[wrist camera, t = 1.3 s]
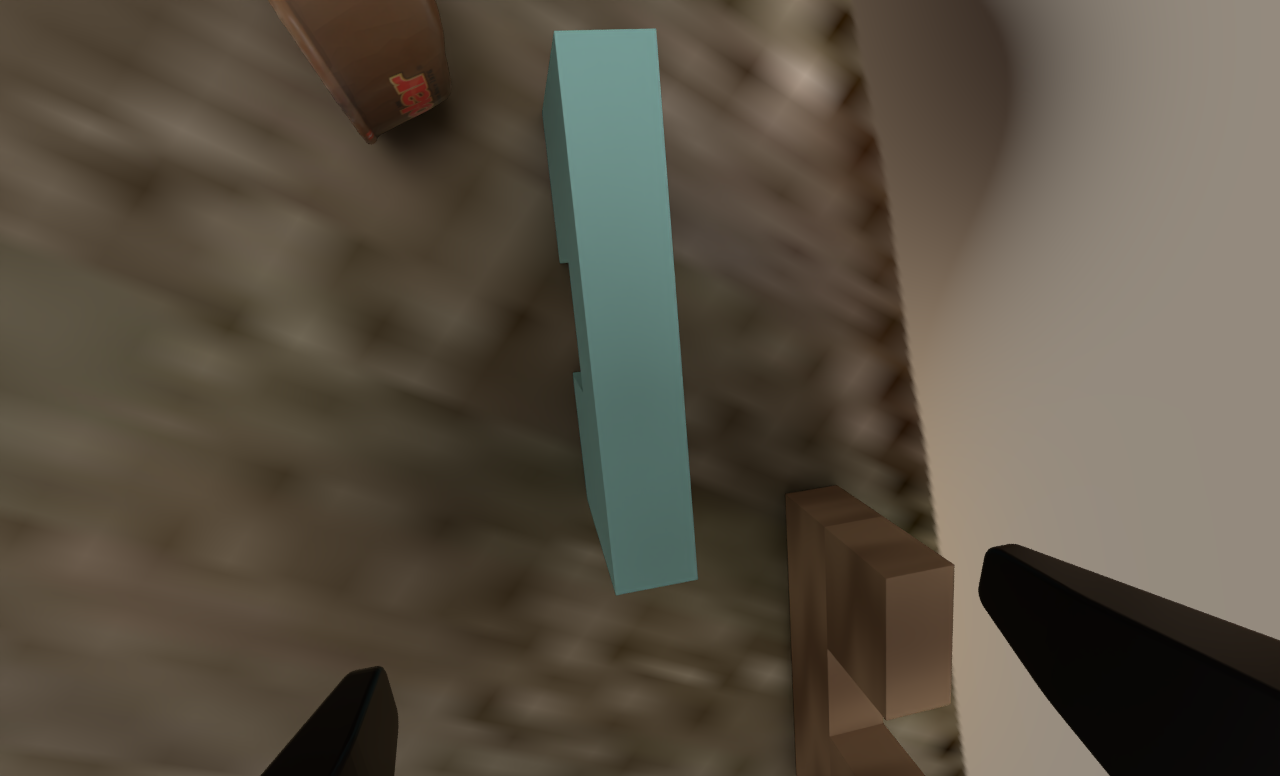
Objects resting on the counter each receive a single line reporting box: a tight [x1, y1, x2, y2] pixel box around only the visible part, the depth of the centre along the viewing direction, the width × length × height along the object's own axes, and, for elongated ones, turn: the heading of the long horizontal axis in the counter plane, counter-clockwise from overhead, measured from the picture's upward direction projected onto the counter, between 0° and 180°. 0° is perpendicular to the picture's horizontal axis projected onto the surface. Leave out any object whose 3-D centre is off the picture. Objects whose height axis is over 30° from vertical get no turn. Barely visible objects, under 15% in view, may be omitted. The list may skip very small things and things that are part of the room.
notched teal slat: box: [542, 29, 698, 595], centre depth 16 cm, size 12×2×6 cm, turn 5°
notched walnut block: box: [785, 485, 954, 776], centre depth 20 cm, size 12×2×6 cm, turn 5°
